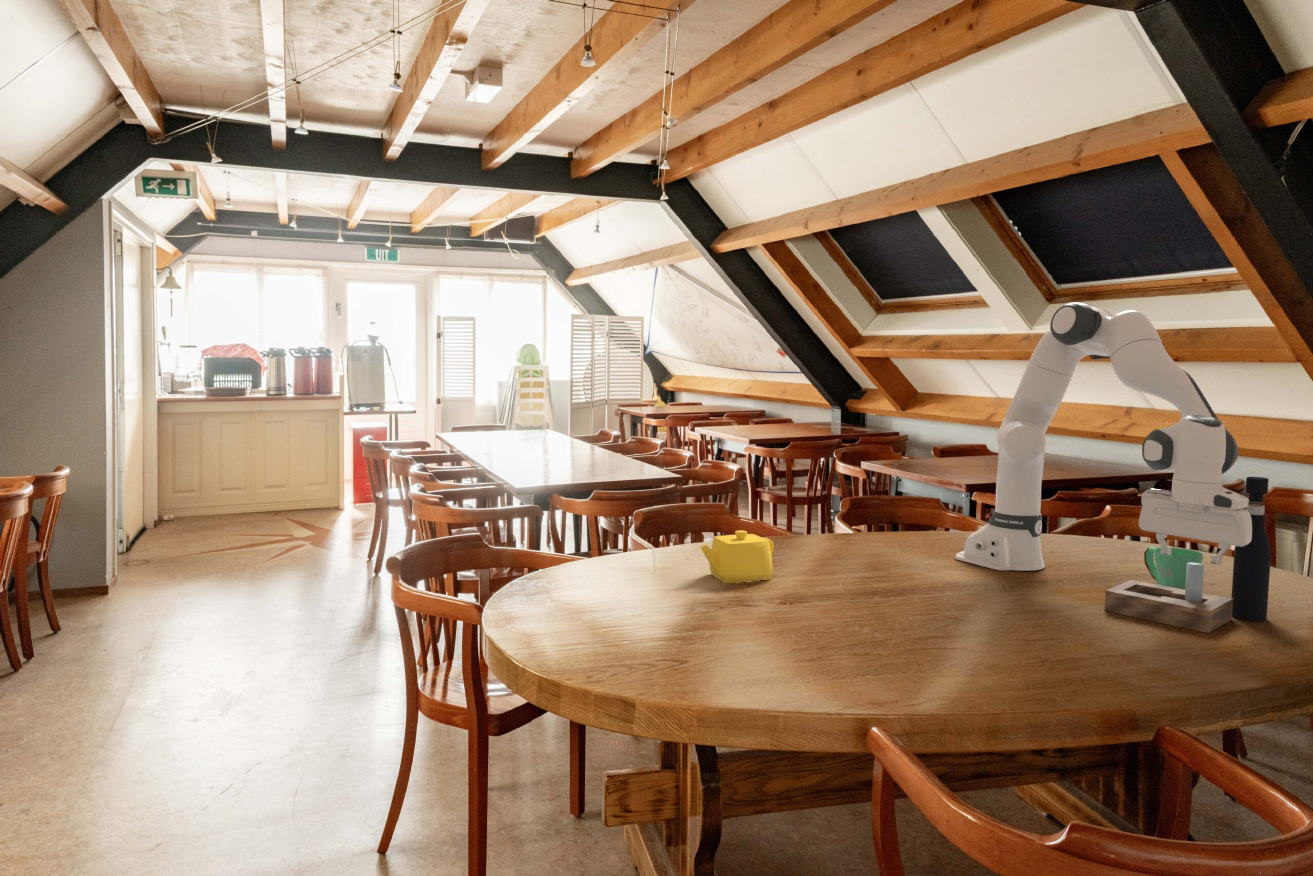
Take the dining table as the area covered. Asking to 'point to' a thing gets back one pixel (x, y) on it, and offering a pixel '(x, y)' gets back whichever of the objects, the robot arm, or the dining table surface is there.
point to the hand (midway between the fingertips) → (1190, 559)
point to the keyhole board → (1168, 606)
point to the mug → (1171, 565)
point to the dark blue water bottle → (1253, 560)
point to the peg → (1194, 582)
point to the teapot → (740, 557)
